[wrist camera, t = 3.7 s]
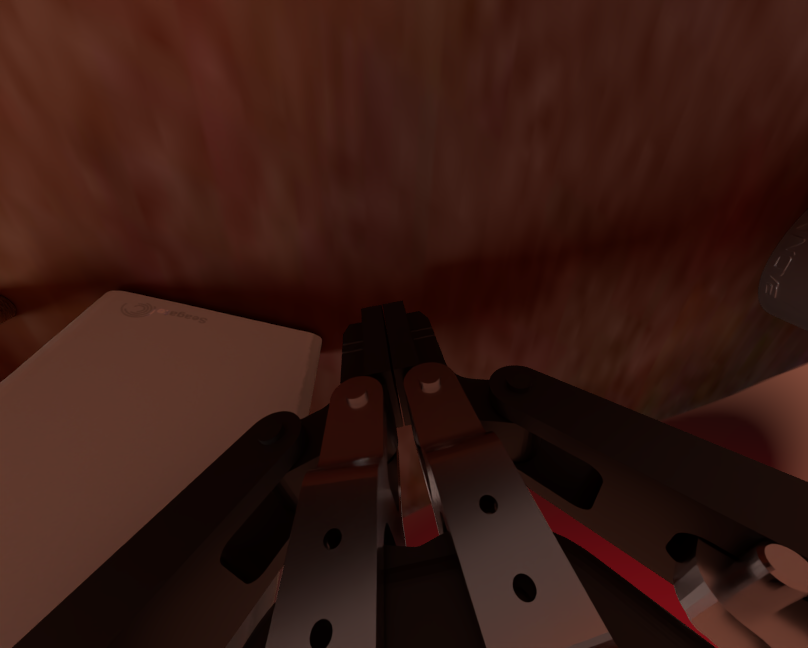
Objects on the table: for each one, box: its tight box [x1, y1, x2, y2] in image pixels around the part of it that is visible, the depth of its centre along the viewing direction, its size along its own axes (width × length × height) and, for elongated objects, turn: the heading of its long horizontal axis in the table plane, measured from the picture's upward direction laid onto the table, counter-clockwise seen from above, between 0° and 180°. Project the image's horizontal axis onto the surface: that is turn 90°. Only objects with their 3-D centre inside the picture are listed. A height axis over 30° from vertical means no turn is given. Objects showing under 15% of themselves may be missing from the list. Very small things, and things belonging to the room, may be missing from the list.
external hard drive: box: [0, 291, 322, 648], centre depth 8 cm, size 2×8×12 cm, turn 69°
